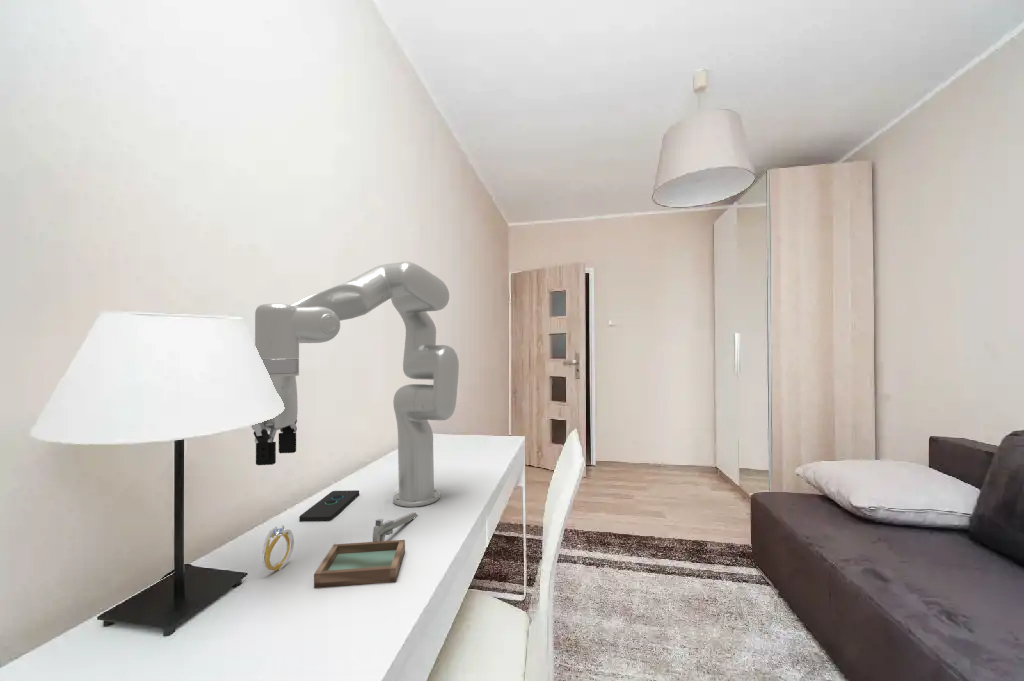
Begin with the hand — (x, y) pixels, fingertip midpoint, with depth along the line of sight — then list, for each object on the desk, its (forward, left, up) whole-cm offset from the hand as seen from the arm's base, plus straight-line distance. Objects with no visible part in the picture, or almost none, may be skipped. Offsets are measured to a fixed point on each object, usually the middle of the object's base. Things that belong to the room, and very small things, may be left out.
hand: (277, 458), depth 85 cm
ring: (0, 0, -21) cm, 21 cm away
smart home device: (-34, 0, -22) cm, 40 cm away
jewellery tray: (+2, +16, -21) cm, 26 cm away
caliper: (-14, +20, -22) cm, 33 cm away
